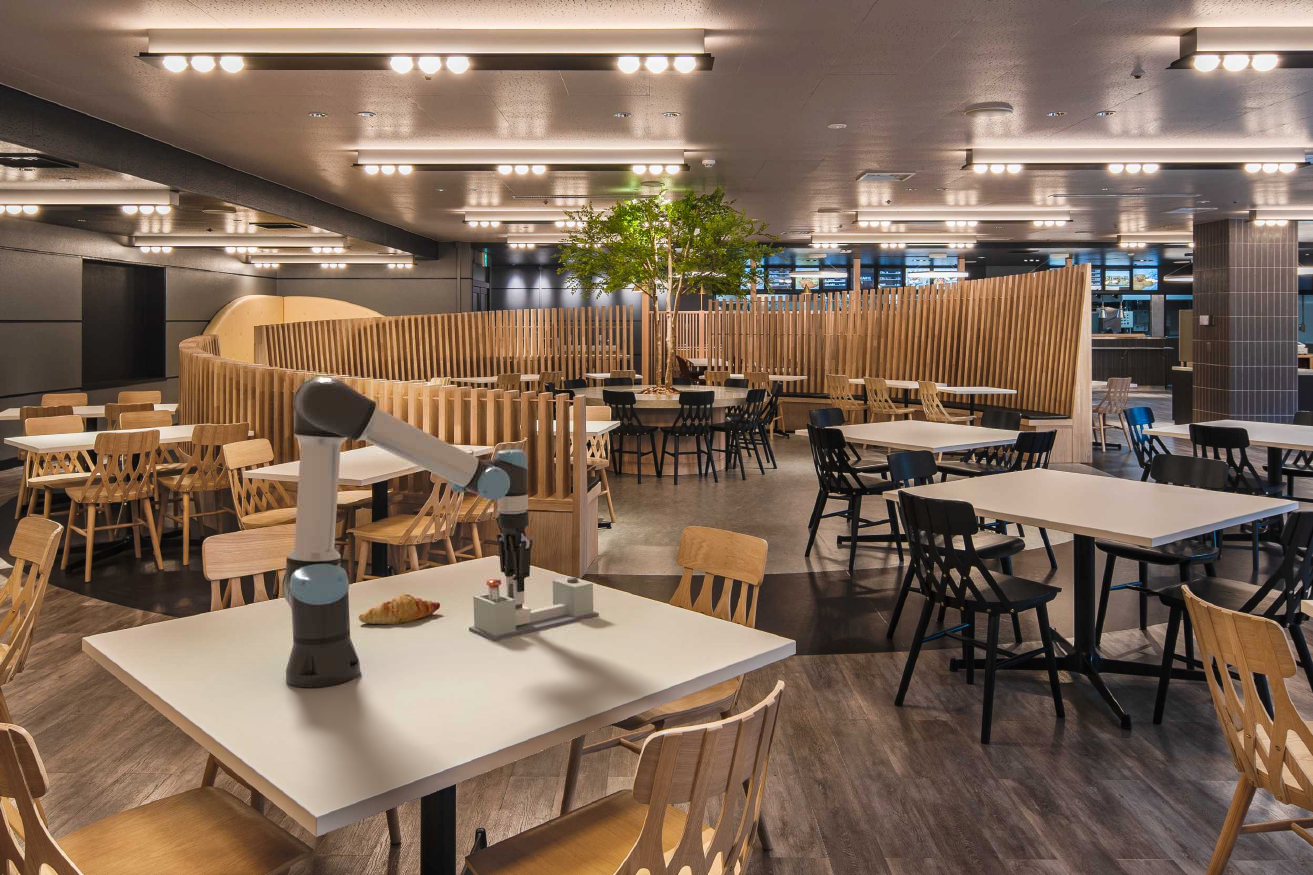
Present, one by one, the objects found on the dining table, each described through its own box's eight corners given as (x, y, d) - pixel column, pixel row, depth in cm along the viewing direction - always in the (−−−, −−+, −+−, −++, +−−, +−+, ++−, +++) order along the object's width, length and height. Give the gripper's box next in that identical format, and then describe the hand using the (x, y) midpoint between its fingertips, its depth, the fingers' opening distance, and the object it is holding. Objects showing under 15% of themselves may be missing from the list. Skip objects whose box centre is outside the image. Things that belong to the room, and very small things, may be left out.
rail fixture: (493, 641, 221) (492, 602, 220) (468, 630, 230) (467, 593, 230) (598, 615, 242) (598, 580, 241) (572, 606, 251) (571, 572, 250)
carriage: (514, 626, 228) (513, 588, 228) (501, 621, 233) (500, 584, 232) (531, 622, 232) (530, 585, 231) (518, 617, 236) (517, 580, 235)
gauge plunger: (492, 618, 226) (491, 583, 225) (484, 615, 228) (483, 580, 227) (504, 615, 228) (503, 581, 227) (497, 612, 231) (496, 578, 230)
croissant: (362, 641, 234) (363, 617, 230) (354, 614, 241) (355, 591, 237) (443, 626, 244) (446, 604, 240) (433, 601, 252) (435, 579, 248)
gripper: (543, 513, 226) (545, 605, 229) (509, 505, 238) (512, 594, 240) (517, 516, 222) (519, 611, 224) (484, 509, 233) (487, 599, 235)
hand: (515, 602), depth 232 cm, fingers closed on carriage, 2 cm apart
